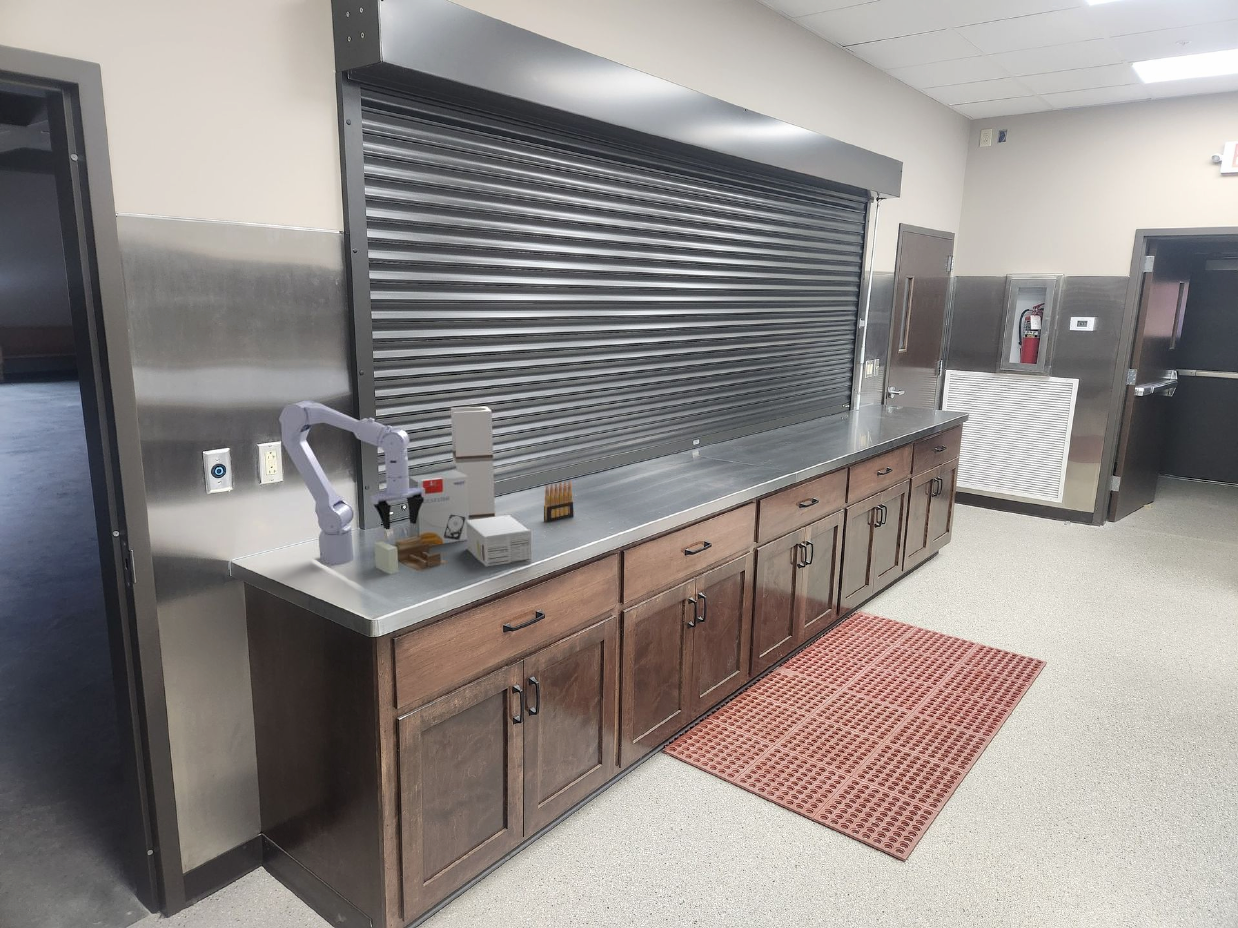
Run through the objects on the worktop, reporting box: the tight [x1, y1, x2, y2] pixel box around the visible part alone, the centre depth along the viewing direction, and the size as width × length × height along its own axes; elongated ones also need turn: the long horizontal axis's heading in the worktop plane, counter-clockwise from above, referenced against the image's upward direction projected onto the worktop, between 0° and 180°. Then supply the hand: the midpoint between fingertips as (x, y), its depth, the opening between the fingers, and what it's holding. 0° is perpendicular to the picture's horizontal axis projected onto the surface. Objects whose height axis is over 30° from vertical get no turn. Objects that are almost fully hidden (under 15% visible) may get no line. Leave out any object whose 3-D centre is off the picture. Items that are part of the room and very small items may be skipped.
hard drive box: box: [408, 471, 469, 547], centre depth 229 cm, size 16×8×20 cm, turn 122°
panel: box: [374, 540, 399, 575], centre depth 205 cm, size 8×2×7 cm, turn 44°
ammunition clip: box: [543, 480, 575, 523], centre depth 255 cm, size 11×2×12 cm, turn 131°
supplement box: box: [466, 514, 533, 567], centre depth 218 cm, size 17×13×9 cm
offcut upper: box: [395, 536, 422, 550], centre depth 216 cm, size 3×6×2 cm, turn 137°
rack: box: [397, 543, 449, 571], centre depth 213 cm, size 15×9×4 cm, turn 43°
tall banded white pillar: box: [450, 406, 496, 520], centre depth 255 cm, size 11×11×35 cm
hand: (400, 525), depth 211 cm, fingers open, 7 cm apart
